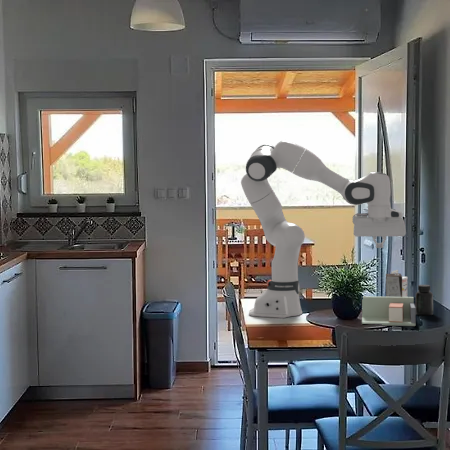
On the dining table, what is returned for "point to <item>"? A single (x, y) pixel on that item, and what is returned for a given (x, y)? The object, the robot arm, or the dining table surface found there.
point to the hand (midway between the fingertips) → (379, 247)
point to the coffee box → (394, 285)
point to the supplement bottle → (424, 301)
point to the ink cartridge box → (403, 284)
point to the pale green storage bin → (387, 310)
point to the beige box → (396, 312)
